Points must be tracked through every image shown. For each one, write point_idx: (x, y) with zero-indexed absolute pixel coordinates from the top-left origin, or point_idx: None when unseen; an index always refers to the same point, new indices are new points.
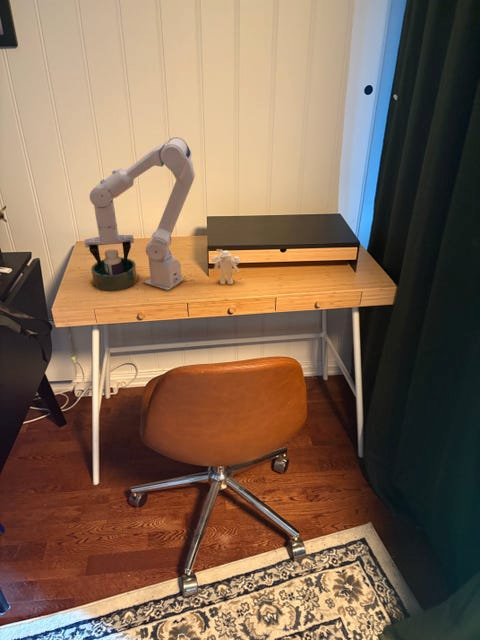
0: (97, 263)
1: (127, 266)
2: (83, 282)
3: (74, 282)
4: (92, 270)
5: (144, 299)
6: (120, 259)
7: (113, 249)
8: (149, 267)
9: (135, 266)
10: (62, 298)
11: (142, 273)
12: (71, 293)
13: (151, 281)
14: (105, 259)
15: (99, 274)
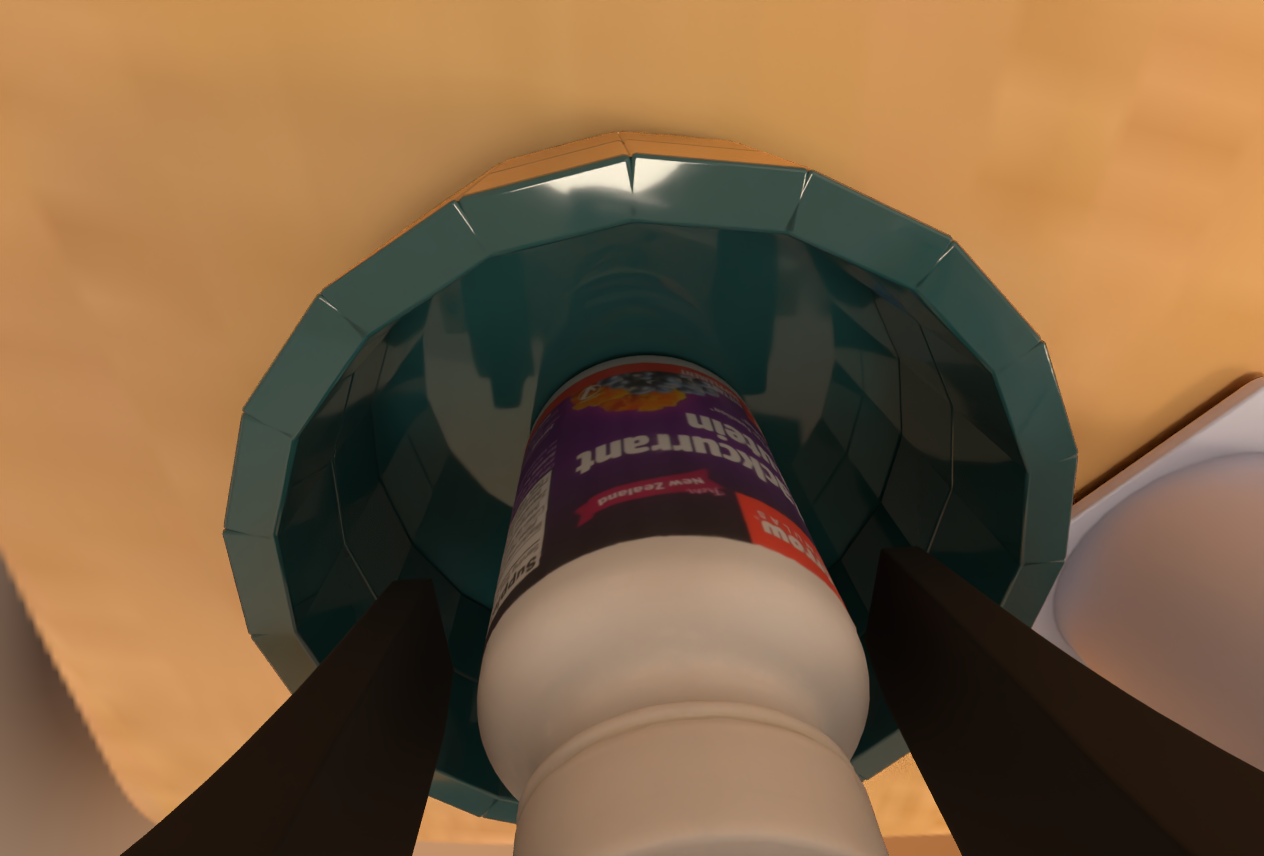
0: (303, 432)
1: (885, 291)
2: (190, 428)
3: (48, 407)
4: (292, 677)
5: (883, 796)
6: (852, 753)
7: (793, 853)
8: (1214, 744)
9: (1027, 608)
10: (97, 718)
11: (1034, 304)
12: (151, 649)
13: (1060, 609)
14: (521, 784)
15: (447, 787)
